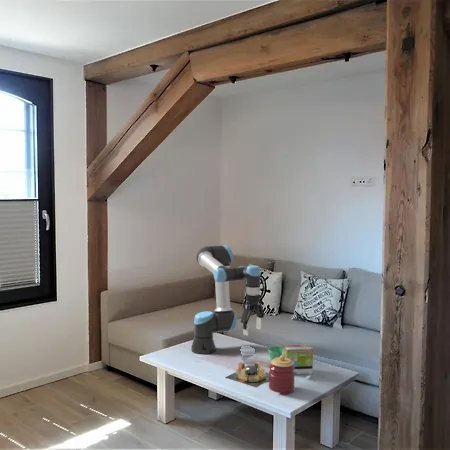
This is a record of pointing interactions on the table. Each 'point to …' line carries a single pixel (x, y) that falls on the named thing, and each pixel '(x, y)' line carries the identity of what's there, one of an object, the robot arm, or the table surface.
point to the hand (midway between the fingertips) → (252, 332)
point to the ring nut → (243, 375)
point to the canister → (281, 375)
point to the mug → (275, 352)
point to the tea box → (299, 357)
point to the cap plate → (255, 384)
